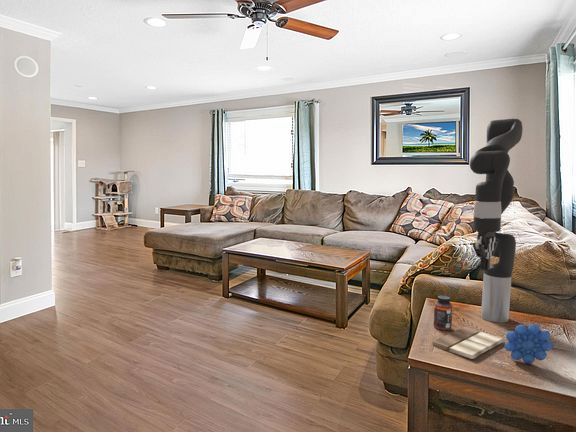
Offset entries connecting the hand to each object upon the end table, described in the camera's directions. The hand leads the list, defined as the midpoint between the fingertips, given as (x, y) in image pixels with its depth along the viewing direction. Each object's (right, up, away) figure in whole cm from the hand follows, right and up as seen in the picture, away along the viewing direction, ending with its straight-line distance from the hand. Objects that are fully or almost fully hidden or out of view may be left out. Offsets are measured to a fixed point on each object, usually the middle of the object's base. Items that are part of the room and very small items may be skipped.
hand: (484, 269), depth 115 cm
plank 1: (-6, -25, -3) cm, 26 cm away
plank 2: (+2, -24, +3) cm, 25 cm away
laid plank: (-6, -24, +6) cm, 26 cm away
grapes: (+7, -26, -9) cm, 28 cm away
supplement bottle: (-7, -23, +15) cm, 29 cm away
